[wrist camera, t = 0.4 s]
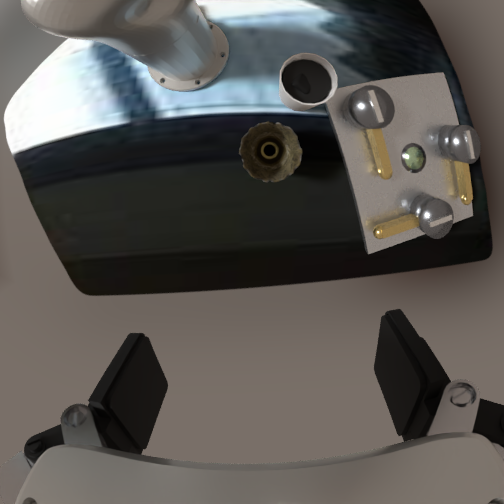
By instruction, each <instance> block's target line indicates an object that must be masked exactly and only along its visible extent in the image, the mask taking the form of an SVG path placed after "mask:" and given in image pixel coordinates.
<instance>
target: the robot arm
mask: <svg viewBox="0 0 504 504" xmlns="http://www.w3.org/2000/svg"><path fill="white" fill-rule="evenodd" d="M21 5H22V10H23V12H24V14H25V16H26V17H27V19H28V20H29V21H30V22H31V23H32V24H34V25H35V26H36V27H37V28H39V29H41V30H43V31H45V32H47V33H50V34H53V35H56V36H61V37H64V38H72V39H81V40H92V41H98V42H102V43H104V44H107V45H109V46H111V47H114V48H116V49H118V50H120V51H122V52H123V53H125V54H127V55H129V56H131V57H132V58H134V59H136V60H138V61H140V62H142V63H143V64H145V65H147V66H148V70H149V73H150V75H151V77H152V78H153V79H154V80H155V82H157V83H158V84H159V85H161V86H162V87H164V88H167V89H169V90H172V91H179V92H183V91H192V90H196V89H199V88H201V87H204V86H205V85H207V84H209V83H210V82H212V81H213V80H214V79H216V78H217V77H218V75H219V74H220V73H221V72H222V71H223V69H224V67H225V66H226V63H227V61H228V57H229V44H228V40H227V38H226V36H225V34H224V33H223V31H222V30H221V29H220V28H219V27H218V26H216V25H215V24H213V23H211V22H209V21H206V20H205V18H204V16H203V14H202V12H201V10H200V8H199V6H198V4H197V3H196V1H195V0H21ZM210 28H212V29H210ZM222 55H225V57H222ZM164 80H165V82H164V83H163V81H164ZM198 82H200V84H199V85H198ZM374 371H375V374H376V377H377V380H378V382H379V385H380V387H381V390H382V393H383V395H384V398H385V401H386V403H387V406H388V409H389V412H390V415H391V417H392V420H393V423H394V426H395V429H396V431H397V434H398V435H399V436H401V435H402V437H403V440H404V442H402V443H398V444H394V445H391V446H386V447H382V448H378V449H374V450H369V451H364V452H359V453H354V454H349V455H344V456H338V457H332V458H324V459H317V460H308V461H299V462H287V463H269V464H220V463H202V462H190V461H180V460H172V459H164V458H157V457H151V456H145V455H141V453H142V451H143V449H146V448H147V445H148V442H149V439H150V436H151V434H152V431H153V428H154V425H155V422H156V419H157V416H158V414H159V411H160V408H161V405H162V402H163V400H164V397H165V394H166V392H167V388H168V383H167V380H166V378H165V376H164V373H163V371H162V369H161V366H160V364H159V362H158V360H157V357H156V355H155V352H154V350H153V348H152V345H151V343H150V340H149V338H148V337H145V335H144V334H143V333H130V334H129V335H128V336H127V338H126V340H125V341H124V343H123V344H122V346H121V347H120V349H119V350H118V352H117V354H116V355H115V357H114V358H113V360H112V362H111V363H110V365H109V367H108V368H107V370H106V371H105V373H104V375H103V376H102V378H101V380H100V381H99V383H98V385H97V386H96V388H95V390H94V391H93V393H92V395H91V396H90V398H89V400H88V401H89V405H88V406H87V405H85V404H74V405H71V406H69V407H68V408H67V409H65V410H64V412H63V413H62V416H61V424H60V425H58V426H55V427H53V428H51V429H48V430H46V431H44V432H41V433H39V434H36V435H34V436H32V437H31V438H30V439H29V440H28V441H27V442H26V444H25V447H24V453H23V452H22V451H20V452H19V453H18V454H16V455H15V456H14V457H12V458H11V459H10V460H8V461H7V462H6V463H4V464H3V465H1V466H0V496H1V498H2V501H3V503H4V504H504V405H501V404H497V403H494V402H491V401H487V400H484V399H481V398H480V392H479V389H478V388H477V386H476V385H475V384H473V383H472V382H471V381H468V380H463V379H458V380H454V381H452V382H451V381H450V379H449V377H448V376H447V374H446V373H445V371H444V369H443V367H442V366H441V364H440V363H439V361H438V360H437V358H436V357H435V355H434V353H433V352H432V350H431V349H430V347H429V346H428V344H427V343H426V341H425V340H424V339H423V338H422V337H419V335H418V334H417V332H416V331H415V329H414V328H413V326H412V325H411V323H410V322H409V321H408V319H407V318H406V316H405V315H404V313H403V312H402V311H401V310H400V309H396V310H391V311H387V312H386V313H385V315H384V316H382V317H381V324H380V332H379V338H378V345H377V352H376V358H375V364H374ZM412 439H414V440H412ZM408 440H410V441H408ZM405 441H406V442H405Z"/></svg>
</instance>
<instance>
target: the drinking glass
mask: <svg viewBox="0 0 504 504" xmlns="http://www.w3.org/2000/svg"><path fill="white" fill-rule="evenodd" d="M336 89H337V75H336V72H335V70H334V68H333V66H332V65H331V64H330V63H329V62H328V61H327V60H326V59H325V58H323V57H321V56H318V55H316V54H312V53H300V54H296V55H293V56H291V57H290V58H289V59H287V60H286V61H285V62H284V64H283V66H282V68H281V70H280V81H279V96H280V99H281V101H282V103H283V104H284V105H285V106H286V107H288V108H290V109H292V110H294V111H304V110H307V109H310V108H313V107H315V106H317V105H320V104H322V103H325V102H326V101H327V100H329V99H330V98H331V97H332V96H333V95H334V93H335V91H336Z"/></svg>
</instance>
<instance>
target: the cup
mask: <svg viewBox="0 0 504 504" xmlns="http://www.w3.org/2000/svg"><path fill="white" fill-rule="evenodd" d="M267 145H272V146H274V148H275V153H274V154H273V155H272V156H268V155H266V154H265V153H264V148H265V147H266V146H267ZM239 154H240V155H241V158H242V161H243V167H244V168H245V170H247V171H248V172H249V174H250V175H251V176H252V177H254V178H256V179H260V180H263V181H264V182H268V181H272V182H279V181H280V180H284V179H285V178H286V177H288V175H291V174H293V173H294V170H295V169H296V168H297V167H298V166H299V165H300V163H301V154H302V148H300V145H299V141H298V137H297V135H296V134H294V132H293V130H292V129H291V128H290V127H287V126H284V125H282V124H281V123H273V122H265V123H260V124H258V125H256V127H252V128H250V129H249V132H248V133H247V134H245V135H244V137H243V138H242V140H241V146H240V149H239Z"/></svg>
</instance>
